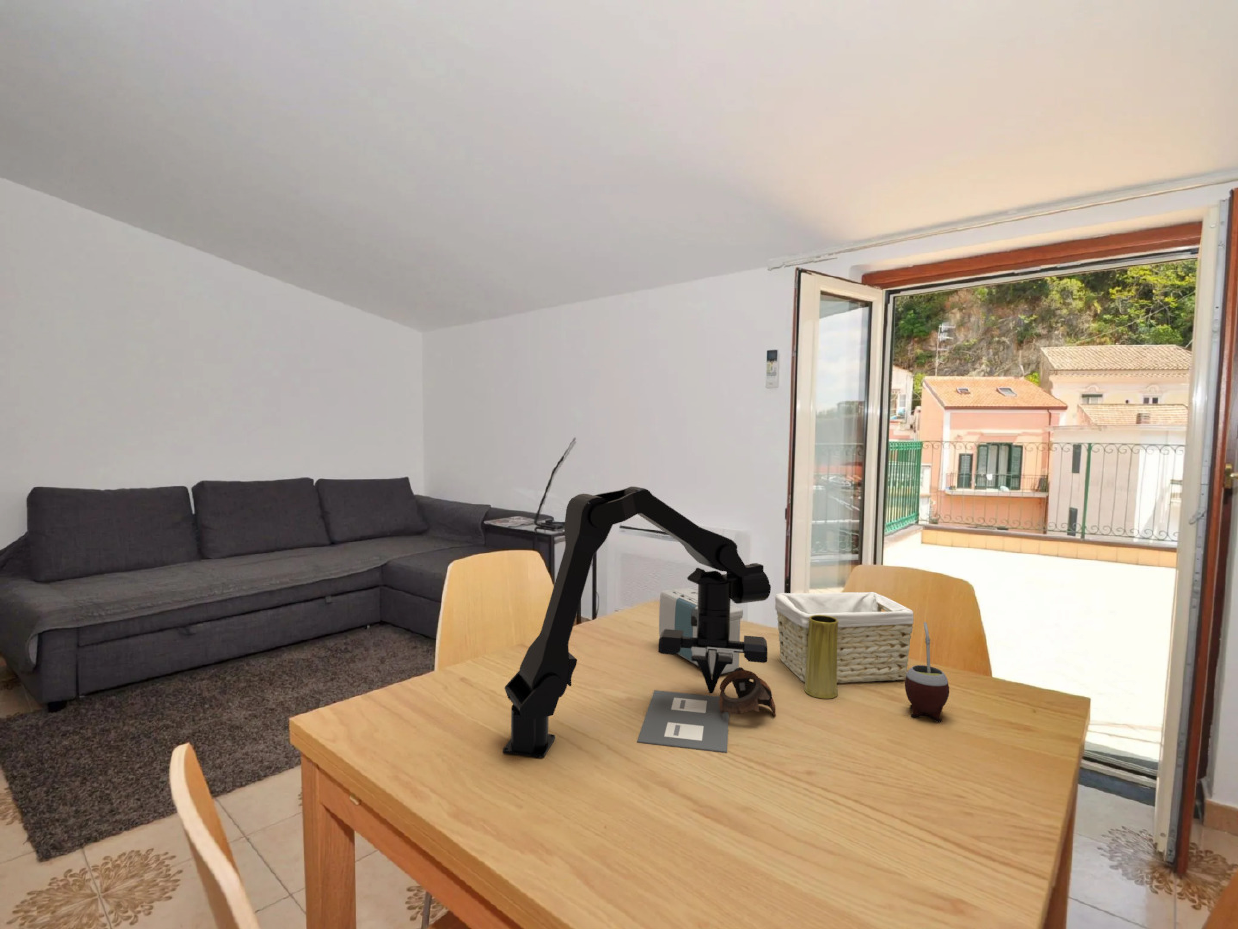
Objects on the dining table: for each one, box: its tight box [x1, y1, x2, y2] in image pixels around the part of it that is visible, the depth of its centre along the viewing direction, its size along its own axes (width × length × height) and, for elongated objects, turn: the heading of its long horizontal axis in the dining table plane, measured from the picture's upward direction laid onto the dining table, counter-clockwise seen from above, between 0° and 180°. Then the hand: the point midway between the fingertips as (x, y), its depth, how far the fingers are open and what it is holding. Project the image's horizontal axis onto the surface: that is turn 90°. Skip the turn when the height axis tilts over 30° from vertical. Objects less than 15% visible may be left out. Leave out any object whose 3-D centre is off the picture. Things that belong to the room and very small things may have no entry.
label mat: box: [636, 689, 730, 754], centre depth 107 cm, size 20×14×1 cm
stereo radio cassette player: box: [658, 587, 744, 675], centre depth 135 cm, size 21×8×20 cm, turn 28°
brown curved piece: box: [719, 666, 777, 717], centre depth 110 cm, size 12×10×8 cm
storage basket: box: [774, 591, 915, 684], centre depth 130 cm, size 24×16×15 cm
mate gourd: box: [904, 621, 950, 724], centre depth 110 cm, size 8×8×15 cm
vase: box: [803, 615, 838, 700], centre depth 119 cm, size 6×6×14 cm
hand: (711, 692), depth 111 cm, fingers closed
